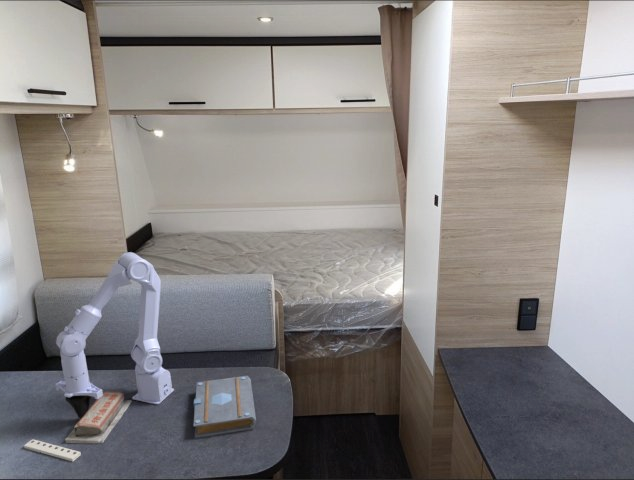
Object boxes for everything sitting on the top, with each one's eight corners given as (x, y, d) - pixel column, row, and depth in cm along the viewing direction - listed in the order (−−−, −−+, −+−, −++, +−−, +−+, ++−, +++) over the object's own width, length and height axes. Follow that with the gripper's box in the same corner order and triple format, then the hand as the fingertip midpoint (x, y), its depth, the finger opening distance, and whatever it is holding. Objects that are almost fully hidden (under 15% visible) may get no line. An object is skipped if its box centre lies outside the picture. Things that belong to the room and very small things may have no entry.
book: (256, 429, 123) (255, 413, 122) (193, 439, 120) (191, 423, 118) (251, 387, 143) (250, 372, 142) (196, 394, 140) (195, 379, 138)
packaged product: (97, 389, 135) (130, 389, 135) (99, 403, 136) (132, 403, 136) (62, 429, 118) (100, 429, 117) (65, 445, 119) (102, 445, 119)
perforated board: (81, 454, 115) (80, 451, 114) (72, 461, 112) (72, 458, 112) (33, 441, 120) (32, 438, 119) (24, 448, 117) (23, 445, 117)
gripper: (42, 375, 123) (51, 419, 126) (85, 384, 118) (93, 430, 121) (64, 362, 129) (72, 405, 133) (105, 370, 124) (112, 414, 128)
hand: (83, 416), depth 127 cm, fingers closed, pressing on packaged product
